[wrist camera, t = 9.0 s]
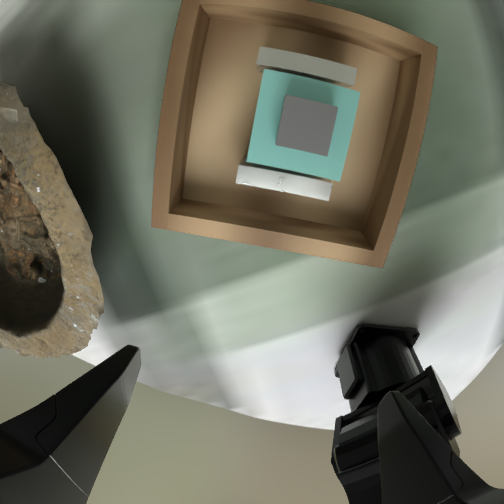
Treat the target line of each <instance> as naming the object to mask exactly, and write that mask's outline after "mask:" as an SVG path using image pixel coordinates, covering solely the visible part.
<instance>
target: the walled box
mask: <svg viewBox="0 0 504 504" xmlns="http://www.w3.org/2000/svg"><path fill="white" fill-rule="evenodd" d="M260 47H267V48H273V49H279V50H284V51H290V52H295V53H300V54H304V55H309V56H313V57H317V58H321V59H325V60H329V61H333V62H337V63H340V64H344V65H347V66H351V67H354V68H357V73H356V79H355V84H354V86H352V87H349V88H348V89H352V90H355V91H358V92H360V97H359V102H358V107H357V112H356V116H355V121H354V125H353V130H352V134H351V139H350V143H349V147H348V151H347V155H346V160H345V164H344V168H343V172H342V176H341V179H340V182H339V181H335V180H331V179H330V181H331V182H332V183H333V185H332V189H331V193H330V197H329V201H326V200H321V199H316V198H312V197H307V196H302V195H297V194H292V193H287V192H282V191H277V190H271V189H266V188H260V187H255V186H249V185H243V184H237V183H236V178H237V171H238V165H239V163H240V162H241V160H242V158H243V157H247V156H248V150H249V145H250V139H251V134H252V128H253V123H254V118H255V113H256V107H257V102H258V97H259V92H260V87H261V81H262V76H263V73H259V72H258V68H257V64H256V63H257V58H258V53H259V48H260ZM437 49H438V47H437V46H435V45H433V44H431V43H429V42H427V41H425V40H423V39H421V38H419V37H416V36H414V35H412V34H410V33H407V32H405V31H403V30H400V29H398V28H395V27H393V26H390V25H388V24H385V23H383V22H380V21H377V20H374V19H371V18H369V17H366V16H363V15H360V14H356V13H353V12H350V11H347V10H343V9H340V8H336V7H332V6H328V5H324V4H320V3H316V2H312V1H307V0H182V4H181V8H180V12H179V16H178V20H177V24H176V29H175V33H174V38H173V43H172V48H171V53H170V58H169V64H168V69H167V75H166V81H165V87H164V94H163V100H162V107H161V115H160V123H159V131H158V140H157V150H156V160H155V172H154V186H153V202H152V225H151V227H154V228H160V229H166V230H172V231H178V232H183V233H189V234H195V235H201V236H206V237H212V238H218V239H224V240H229V241H235V242H241V243H246V244H252V245H257V246H263V247H269V248H274V249H280V250H285V251H291V252H297V253H302V254H308V255H313V256H319V257H324V258H330V259H335V260H341V261H346V262H351V263H357V264H362V265H368V266H373V267H378V268H383V266H384V263H385V260H386V258H387V255H388V252H389V250H390V247H391V244H392V241H393V239H394V236H395V233H396V230H397V227H398V224H399V221H400V218H401V215H402V212H403V209H404V206H405V202H406V199H407V196H408V192H409V189H410V185H411V182H412V178H413V175H414V171H415V167H416V164H417V160H418V156H419V152H420V147H421V143H422V139H423V134H424V130H425V125H426V120H427V115H428V110H429V105H430V99H431V93H432V87H433V81H434V74H435V66H436V58H437Z"/></svg>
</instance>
